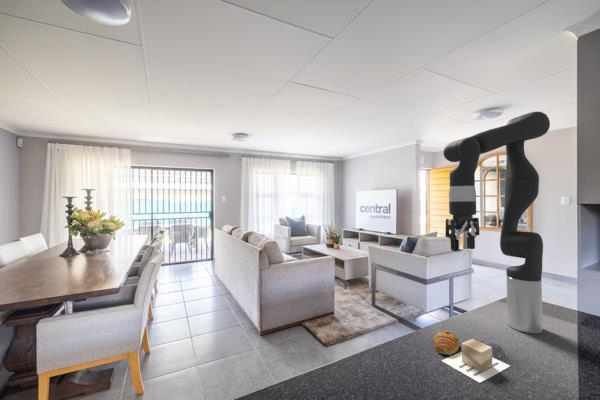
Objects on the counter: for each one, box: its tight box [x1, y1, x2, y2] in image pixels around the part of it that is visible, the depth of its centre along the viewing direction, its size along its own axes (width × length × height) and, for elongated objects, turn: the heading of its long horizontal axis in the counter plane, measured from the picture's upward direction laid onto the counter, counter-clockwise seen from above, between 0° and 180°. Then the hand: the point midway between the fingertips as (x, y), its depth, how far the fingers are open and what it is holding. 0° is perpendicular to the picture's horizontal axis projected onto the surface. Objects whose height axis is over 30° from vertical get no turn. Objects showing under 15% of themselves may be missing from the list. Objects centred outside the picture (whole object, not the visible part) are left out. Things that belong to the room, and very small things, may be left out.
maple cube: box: [461, 338, 493, 372], centre depth 70 cm, size 5×5×5 cm
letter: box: [440, 351, 511, 384], centre depth 71 cm, size 14×10×1 cm
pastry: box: [433, 330, 461, 356], centre depth 78 cm, size 9×7×4 cm
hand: (463, 249), depth 85 cm, fingers open, 8 cm apart
